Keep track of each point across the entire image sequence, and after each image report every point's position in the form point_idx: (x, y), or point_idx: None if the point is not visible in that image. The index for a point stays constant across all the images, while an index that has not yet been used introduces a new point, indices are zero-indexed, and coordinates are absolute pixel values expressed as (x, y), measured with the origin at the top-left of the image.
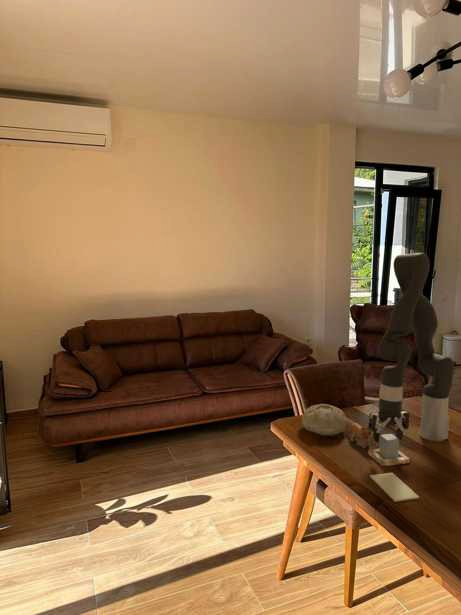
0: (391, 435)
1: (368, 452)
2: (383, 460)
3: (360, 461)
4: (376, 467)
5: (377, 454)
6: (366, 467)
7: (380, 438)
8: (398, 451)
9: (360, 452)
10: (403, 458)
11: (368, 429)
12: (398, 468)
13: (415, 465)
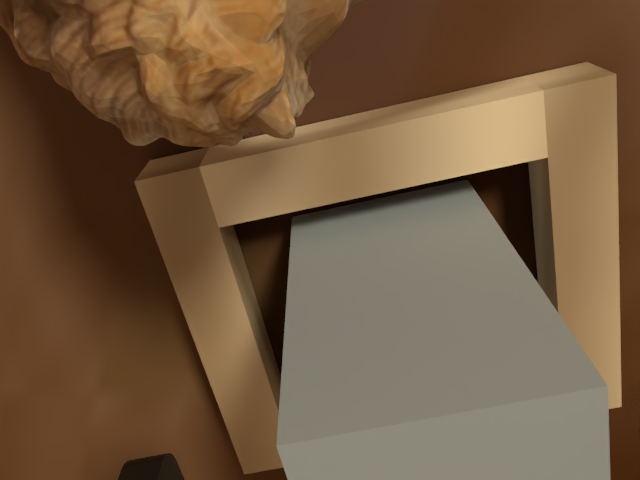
0: (546, 467)
1: (145, 169)
2: (269, 448)
3: (14, 351)
4: (179, 457)
5: (238, 313)
6: (69, 459)
7: (283, 400)
8: (593, 223)
9: (37, 118)
10: None
11: (21, 38)
12: None
13: (633, 415)
